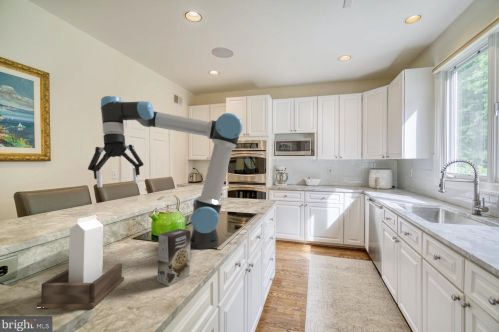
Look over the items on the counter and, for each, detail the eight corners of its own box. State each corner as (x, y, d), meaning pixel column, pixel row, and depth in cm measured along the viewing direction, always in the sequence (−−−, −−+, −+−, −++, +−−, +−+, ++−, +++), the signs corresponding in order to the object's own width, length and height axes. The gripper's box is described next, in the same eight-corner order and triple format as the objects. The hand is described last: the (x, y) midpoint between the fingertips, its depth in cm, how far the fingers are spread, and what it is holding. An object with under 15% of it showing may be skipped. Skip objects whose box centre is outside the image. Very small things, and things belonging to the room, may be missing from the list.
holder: (124, 280, 73) (124, 262, 74) (92, 308, 58) (93, 285, 59) (79, 280, 73) (79, 261, 73) (36, 308, 58) (37, 285, 58)
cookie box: (169, 287, 70) (170, 236, 70) (156, 281, 73) (157, 233, 73) (190, 275, 77) (191, 230, 78) (178, 270, 81) (179, 227, 81)
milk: (67, 292, 64) (69, 218, 64) (88, 282, 70) (89, 214, 70) (83, 296, 62) (84, 219, 62) (102, 285, 68) (103, 215, 68)
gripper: (148, 134, 96) (152, 181, 95) (85, 138, 91) (89, 188, 90) (143, 130, 89) (148, 182, 88) (74, 134, 84) (79, 189, 83)
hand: (118, 185), depth 89 cm, fingers open, 13 cm apart
